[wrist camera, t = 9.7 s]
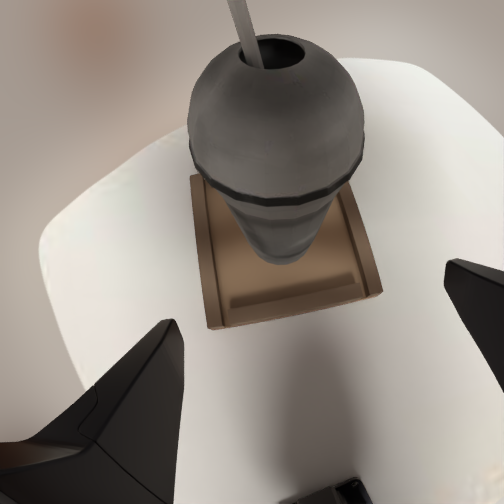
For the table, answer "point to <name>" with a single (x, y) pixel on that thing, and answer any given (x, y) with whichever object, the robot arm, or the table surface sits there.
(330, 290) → the walnut tray
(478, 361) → the table surface
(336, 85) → the beverage cup
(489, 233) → the table surface
